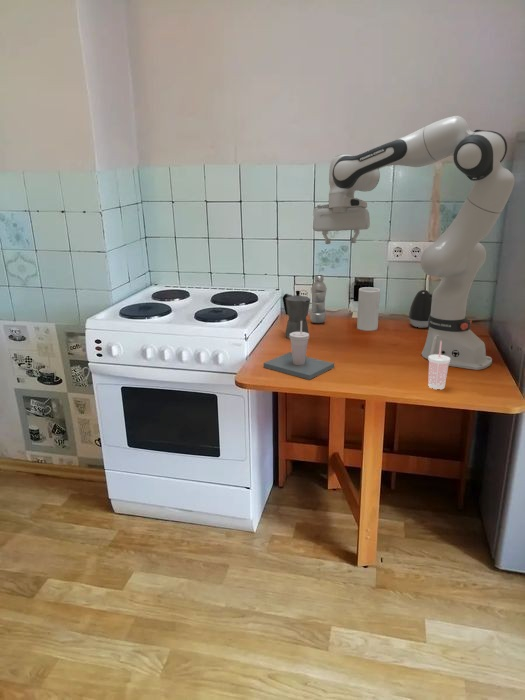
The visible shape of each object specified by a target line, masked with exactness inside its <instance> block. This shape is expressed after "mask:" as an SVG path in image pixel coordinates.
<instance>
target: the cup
mask: <svg viewBox="0 0 525 700" xmlns="http://www.w3.org/2000/svg"><path fill="white" fill-rule="evenodd" d="M380 294H381V289H380V288H377V287H371V286H368V287H367V286H365V287H360V288H359V289H358V300H357V301H358V302H357V319H356V321H357V322H356V324H357V325H356V329H357V330H360V331H364V332H365V331H368V332H371V331H373V332H374V331H377V330H378V327H379V325H378V324H379V313H380V311H379V310H380V297H381V296H380Z"/></svg>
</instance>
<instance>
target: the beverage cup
mask: <svg viewBox="0 0 525 700" xmlns="http://www.w3.org/2000/svg"><path fill="white" fill-rule="evenodd" d="M441 345H442V341H440V348H439V355H438V354H434V355H429V356H428V359H427V360H428V384H427V386H429V387H428V388H430V389H432V388H433V389H432V390H437V389H440V390H443V389H445V388H446V387H445V386H446V381H447V376H448V370H449V366H448V365H449V362H450V357H448V356H445V355H441Z"/></svg>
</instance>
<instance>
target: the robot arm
mask: <svg viewBox="0 0 525 700" xmlns="http://www.w3.org/2000/svg"><path fill="white" fill-rule="evenodd" d="M507 153H508V142H507V140H506V138H505V137H504V136H503V135H502V134H501V133H499V132H497V131H493V130H484V129H476V130H474V131H473V130H471V129H470V125H469V123H468V122H467V120H466V119H465V118H463V116H460V115H453V116H449V117H446V118H445V117H444V118H442V119H439V120H437V121H434V122H432V123H430V124H428V125H426V126H424V127H421V128H419V129H418V130H417V129H416V131H413V132H411V133H409V134H407V135H405V136H402V137H399V138H397V139H395V140H391V141H389V142H386V143H385V144H381V145H378V146H376V147H374V148H371V149H369V150H367V151H365V152H361V153H360V154H357V155H352V154H350V153H343V154H340V155H339V154H338V155H336V156H335V157H333V158H332V160H331V162H330V166H329V173H328V185H329V192H328V203H327V204H323V205H322V204H319V205H317V206H315V207H314V208H313V221H312V229H313V231H315V232H322V233H321V235H322V236H323V238H324V239H325V240H324V241H325V242H324V243H325V244H326V245H330V244H331V238H329V237H328V234H329V232H335V231H336V232H338V231H353V233H354V235H353V237H350V243H351V244H356V243H357V238H358V236H359V235H360V230H364V231H365V230H368V229H369V228H371V227H370V226H371V222H370V219H371V218H370V212H369V210H368V209H367V208H368V202H367V201H364V200H362V199H360V198H357V197H356V198H355V193H356V191H359V192H370V191H372V190H374V189H376V187H377V185H378V184H379V181H380V179H381V178H380V177H381V174H380V169H382V168H384V167H389V166H403V167H404V166H405V167H412V168H421V167H426V166H429V165H433V164H434V163H435V164H436V163H437V162H439V161H441V160H444V159H446V158H448V157H453V163H454V165H455V166H456V168H457V169H458V170H459V171H460V172H461V173H462V174H464V175H465V176H466V177H467V178H468V179H469V180H470V181H473V185H472V186H471V189H470V191H469V193H468V194H467V196H466V198H465V200H464V202H463V204H462V205H461V207H460V209H459V211H458V213H457V214H456V216H455V218H454V219H453V221H452V222H451V223H450V224H449V225H448V227H447V228H446V229H445V230H444V231H443V233H441V235H440V236H439V237H438V238H437V239H436V240H435V241H434V242H433V243H431V245H429V246H427V247H426V248H425V249H424V250H423V251H422V253H421V256H420V266H421V269H422V271H423V272H424V273H425V274H426V275H428V276H430V277H436V278H441V279H440V282H439V283H438V285H437V286H436V287H435V289H434V290H433V292H432V293H431V294H432V304H431V314H430V315H429V319H428V327H427V336H426V340H425V344H424V347H423V349H422V352H421V356H422V357H423V358H424V359H427V360H428V356H429V355H434V354H438V355H439V348H440V341H442V345H441V355H445V356H448V357H450V362H449V365H448V367H455V368H460V369H469V370H475V371H479V370H480V371H481V370H485V369H487V368H488V367H490V366H491V365H492V364H493V358H492V357H491V356H488V355H487V352H486V344H485V342H484V341H483V340H482V339H481V338H480V337H478V336H477V335H476V333H475V332H473V331H472V330H471V329H470V328H471V325H472V322H473V320H472V319H470V320H469V319H468V318H467V317H466V314H467V313H466V312H467V306H468V297H469V293H470V290H471V288H472V284H473V283H474V280H475V277H476V275H477V273H478V272H479V270H480V269H481V267H483V265H484V264H485V262H486V260H487V250H486V248H485V246H484V245H483V244H482V243H480V242H481V241H482V240H484V239H485V238H486V237H487V236H488V235H489V234H490V232H491V231H492V229H493V227H494V226H495V224H496V222H497V221H498V219H499V217H500V216H501V214H502V212H503V210H504V208H505V206H506V205H507V203H508V201H509V199H510V196H511V194H512V192H513V189H514V186H515V182H516V180H515V179H516V177H515V175H514V174H513V173H512V172H511V171H510V170H509V169H508V168H505V167H503V165H502V164H501V163H502V162H503V160H505V158H506V156H507Z"/></svg>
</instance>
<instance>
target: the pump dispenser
mask: <svg viewBox="0 0 525 700" xmlns="http://www.w3.org/2000/svg"><path fill="white" fill-rule="evenodd" d="M432 294H433V293H430V292H429V290H426V289H421V290H419V291H418V292H417V293H416V295H414V298H413V300H412V303H410V308H409V312H408V319H409V323H410V324H411V325H412V326H413V327H415V328H417V327H418V328H419V329H426V328H427V329H428V319H429V315H430V314H431V304H432Z"/></svg>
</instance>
